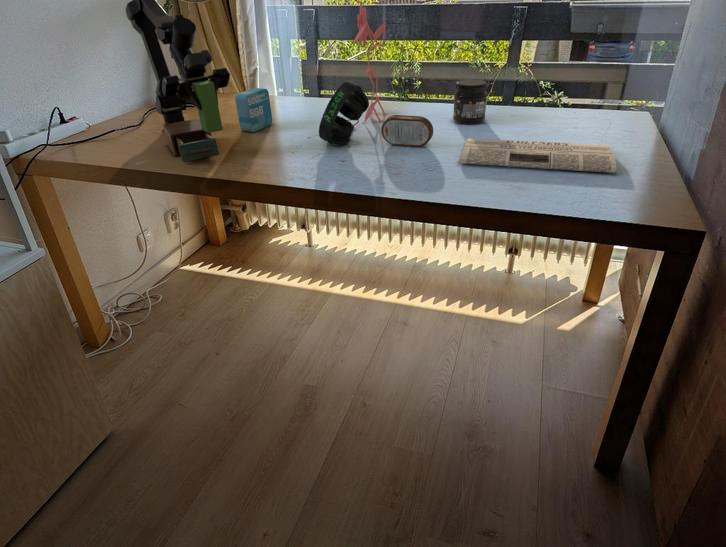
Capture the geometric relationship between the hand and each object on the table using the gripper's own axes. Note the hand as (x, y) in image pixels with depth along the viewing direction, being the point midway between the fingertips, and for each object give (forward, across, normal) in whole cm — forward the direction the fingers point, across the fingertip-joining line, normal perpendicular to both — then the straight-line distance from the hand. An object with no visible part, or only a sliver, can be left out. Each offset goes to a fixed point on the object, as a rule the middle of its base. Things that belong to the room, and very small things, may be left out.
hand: (209, 107), depth 137 cm
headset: (+21, +32, -1) cm, 38 cm away
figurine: (+10, +54, +10) cm, 56 cm away
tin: (+33, +44, -14) cm, 57 cm away
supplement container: (+30, +76, -11) cm, 82 cm away
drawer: (+8, -6, +10) cm, 14 cm away
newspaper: (+56, +61, -37) cm, 90 cm away
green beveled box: (+4, 0, +6) cm, 7 cm away
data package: (-2, +21, +21) cm, 30 cm away
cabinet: (0, -4, +19) cm, 19 cm away
